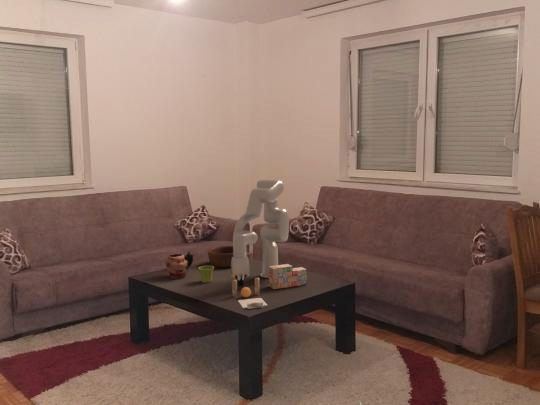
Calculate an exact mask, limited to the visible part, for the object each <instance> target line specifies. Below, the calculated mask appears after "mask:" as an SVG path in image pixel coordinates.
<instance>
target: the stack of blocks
mask: <svg viewBox="0 0 540 405" xmlns="http://www.w3.org/2000/svg"><path fill="white" fill-rule="evenodd" d="M307 274H308V273H307V268H304V267H302V266H300V267H293V265H291V264H289V263H286V264H278V265H276V266H269V278H268V279H269V280H268V283H269V287H270V288H271V289H273V290H276V289H284V288H291V287H300V286H306V285H308V282H307V281H308V279H307V278H308V276H307Z"/></svg>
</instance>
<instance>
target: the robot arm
mask: <svg viewBox="0 0 540 405" xmlns="http://www.w3.org/2000/svg"><path fill="white" fill-rule="evenodd" d="M284 186H285V185H284V183H283V181H281V180H277V179H276V180H274V179H260V180H258V181H257V182H256V188H253V189H252V190H251V191H250V194H249V198H248V202H247V207H246V210H245V213H243V215H241V216H240V218H239V219H238V220H237V222H236V223H235V226H234V230H233V235H232V246H233V257H232V261H231V268H230V272H231V274H230V276H231V278H234V279H235V280H237V287H239V288H244V287H243V286H244V285H245V284H244V283H245V282H244V280H245V279H246V278H247V277H250V275H251V274H250V270H251V269H250V261H249V257H248V255H250V252H248V250H247V245H254V244H256V243H257V241H258V239H259V236H258V234H257V232H255V231H251V230H244V228H245V226H246V225H247V224H248V223H249V222H251V221H253V220H255V219H257V218H259V217H260V216H261V213H262V210H263V220H264V222H265V223H267V225H264V226H262V227H261V229H260V238H261V245H262V246H261V248H262V253H261V254H262V272H261V273H260V277H261V278H263V279H264V278H265V279H269V266H276V265H279V249H278V245H277V243H285V242H287V241H288V238H289V234H290V233H289V229H290V227H289V226H290V214H289V212H288V210H287V209H285V208H279V203H278V202H279V201H278V198H279V197H280V196H281V195H282V194H283V192H284V188H285V187H284ZM262 208H263V209H262ZM269 224H270V225H269ZM271 224H272V225H271ZM274 224H276V225H274ZM240 276H241V277H240Z"/></svg>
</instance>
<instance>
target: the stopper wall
mask: <svg viewBox="0 0 540 405" xmlns="http://www.w3.org/2000/svg"><path fill="white" fill-rule="evenodd" d="M261 308H264V306H263V302H255V303H247V308H246V309H248V310H250V309H261Z"/></svg>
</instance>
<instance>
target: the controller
mask: <svg viewBox="0 0 540 405" xmlns="http://www.w3.org/2000/svg"><path fill="white" fill-rule="evenodd" d="M183 255H184V254H183ZM184 258H185V260H186V262H187V267H186V268H187V269H188V268H189V267H191V265H193V262H194V255H193V254H191V251H187V254H186V255H184ZM186 268H185V269H186Z"/></svg>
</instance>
